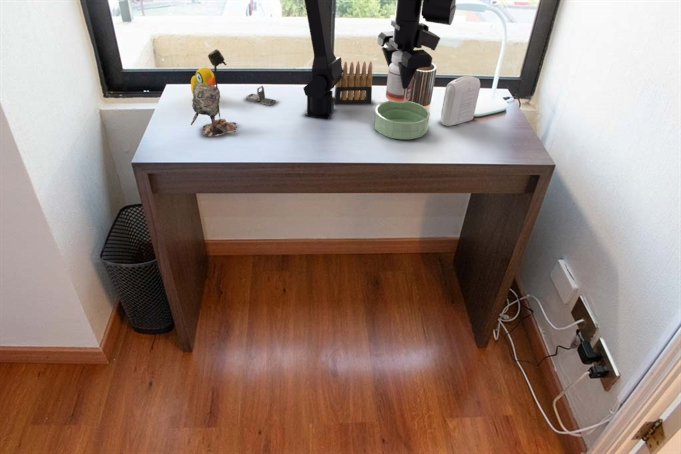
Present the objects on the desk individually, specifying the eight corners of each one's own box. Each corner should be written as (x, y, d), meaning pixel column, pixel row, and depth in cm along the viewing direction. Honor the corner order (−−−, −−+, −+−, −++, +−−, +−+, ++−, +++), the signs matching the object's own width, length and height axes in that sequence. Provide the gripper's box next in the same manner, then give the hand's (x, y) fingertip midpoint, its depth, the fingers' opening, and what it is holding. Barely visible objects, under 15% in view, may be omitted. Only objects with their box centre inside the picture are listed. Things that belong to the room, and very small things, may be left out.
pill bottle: (401, 92, 132) (407, 48, 125) (414, 101, 127) (420, 57, 120) (380, 95, 129) (385, 51, 122) (393, 105, 125) (398, 60, 118)
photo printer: (464, 114, 143) (473, 71, 136) (475, 120, 140) (484, 76, 133) (437, 121, 138) (444, 78, 131) (448, 128, 136) (456, 83, 128)
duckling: (226, 106, 141) (223, 71, 135) (210, 111, 138) (205, 75, 132) (204, 93, 147) (199, 59, 141) (187, 98, 144) (182, 63, 138)
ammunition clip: (370, 100, 148) (373, 60, 140) (371, 103, 146) (374, 62, 139) (333, 101, 146) (335, 60, 139) (334, 104, 145) (336, 62, 138)
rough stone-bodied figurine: (196, 122, 132) (185, 45, 120) (240, 124, 132) (233, 47, 120) (189, 137, 126) (176, 57, 114) (234, 139, 126) (227, 59, 114)
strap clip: (245, 99, 145) (244, 85, 142) (251, 96, 147) (250, 81, 144) (271, 106, 142) (270, 91, 140) (276, 102, 144) (276, 87, 142)
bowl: (369, 136, 130) (370, 118, 127) (379, 114, 141) (381, 97, 138) (423, 145, 128) (426, 127, 124) (429, 121, 138) (432, 104, 135)
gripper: (458, 28, 112) (446, 95, 121) (420, 6, 126) (412, 67, 135) (412, 31, 109) (403, 99, 118) (379, 8, 123) (374, 71, 132)
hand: (399, 83), depth 126 cm, fingers closed on pill bottle, 6 cm apart
